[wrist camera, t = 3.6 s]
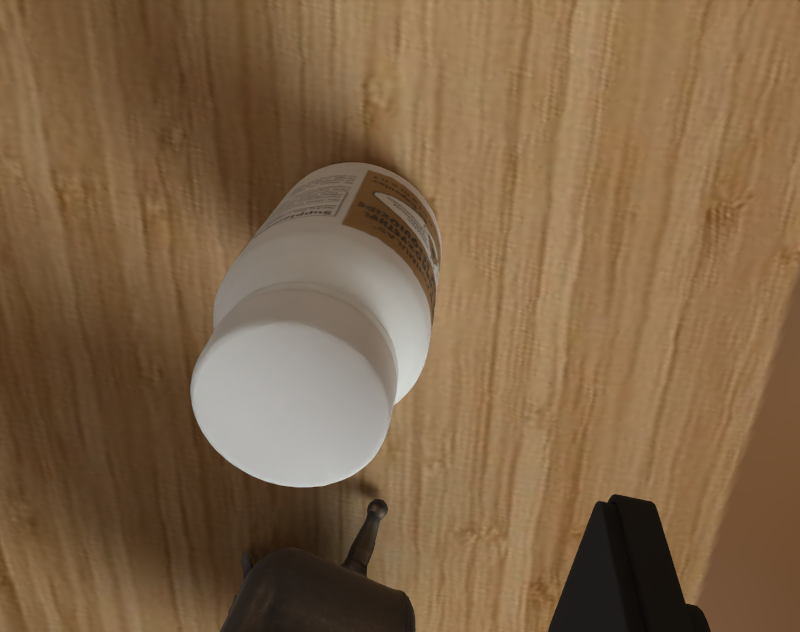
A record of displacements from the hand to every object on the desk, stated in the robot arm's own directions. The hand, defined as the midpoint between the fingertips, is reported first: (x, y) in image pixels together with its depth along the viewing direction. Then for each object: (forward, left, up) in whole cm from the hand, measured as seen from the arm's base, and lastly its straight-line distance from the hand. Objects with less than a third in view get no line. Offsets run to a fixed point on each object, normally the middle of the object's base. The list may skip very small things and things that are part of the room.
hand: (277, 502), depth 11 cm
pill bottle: (-1, 0, -10) cm, 10 cm away
